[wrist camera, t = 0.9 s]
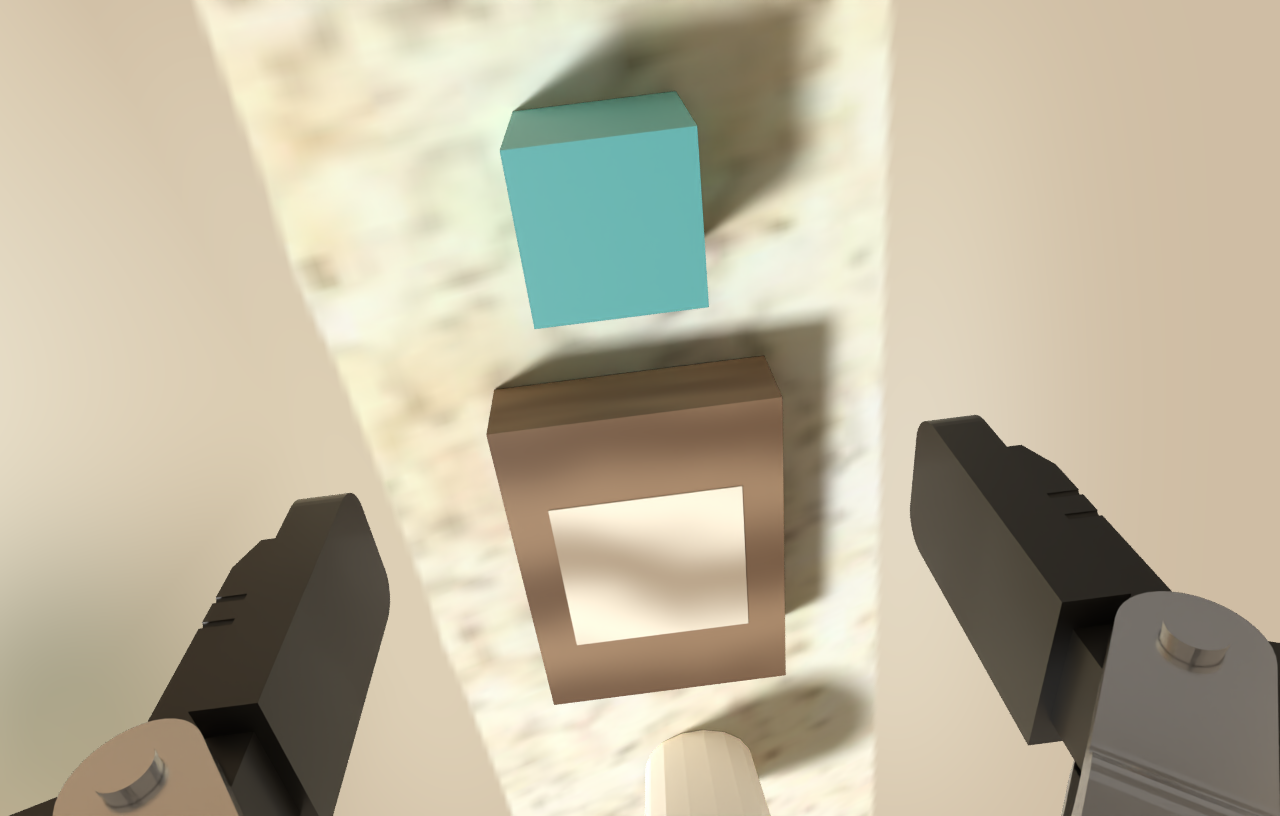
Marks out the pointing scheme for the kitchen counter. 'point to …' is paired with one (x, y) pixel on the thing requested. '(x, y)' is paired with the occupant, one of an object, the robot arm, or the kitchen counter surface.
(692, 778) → the white tapered cup
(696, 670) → the walnut plinth
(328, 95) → the kitchen counter surface
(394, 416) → the kitchen counter surface
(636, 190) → the teal cube
